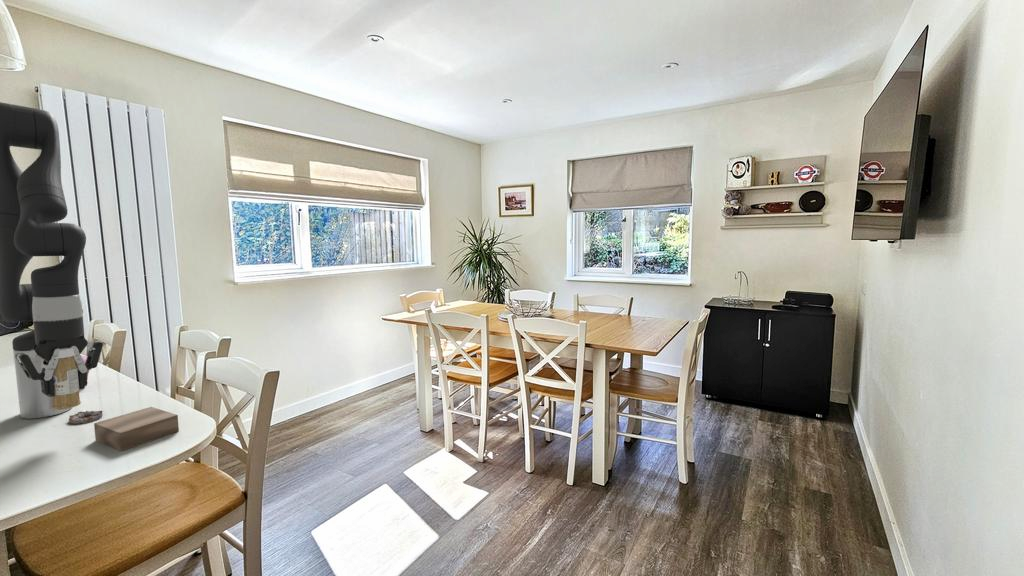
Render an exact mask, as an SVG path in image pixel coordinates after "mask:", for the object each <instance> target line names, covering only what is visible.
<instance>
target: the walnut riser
mask: <svg viewBox="0 0 1024 576" xmlns="http://www.w3.org/2000/svg"><path fill="white" fill-rule="evenodd" d="M93 425H94V438H95V441H96V442H98V443H101V444H104V445H106V446H108V447H111V448H114V449H116V450H118V451H121V452H123V451H124V452H125V451H127V450H129V449H132V448H136V447H137V446H141V445H144V444H146V443H149V442H152V441H155V440H158V439H160V438H164V437H166V436H170V435H172V434H174V433H177V431H178V432H179V431H180V430H179V416H178V414H175V413H172V412H169V411H166V410H162V409H159V408H156V407H155V406H154V407H153V406H149V407H146V408H145V407H144V408H142V409H139V410H136V411H131V412H128V413H125V414H122V415H117V416H115V417H111V418H107V419H104V420H101V421H98V422H95V423H94V424H93Z"/></svg>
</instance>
